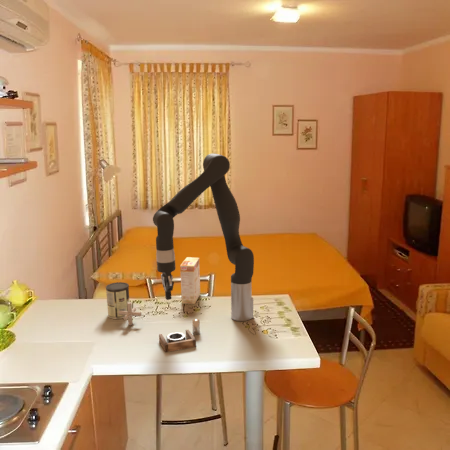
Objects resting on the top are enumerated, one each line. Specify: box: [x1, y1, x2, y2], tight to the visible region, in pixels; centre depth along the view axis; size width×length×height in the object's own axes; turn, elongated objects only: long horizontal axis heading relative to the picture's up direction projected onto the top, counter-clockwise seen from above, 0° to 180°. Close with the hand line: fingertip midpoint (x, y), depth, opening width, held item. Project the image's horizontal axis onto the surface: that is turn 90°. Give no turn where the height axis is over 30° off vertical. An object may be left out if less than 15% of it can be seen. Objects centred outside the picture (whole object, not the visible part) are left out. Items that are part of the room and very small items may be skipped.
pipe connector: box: [118, 301, 142, 326], centre depth 209 cm, size 10×10×10 cm
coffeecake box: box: [179, 256, 201, 305], centre depth 239 cm, size 15×7×20 cm, turn 172°
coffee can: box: [105, 281, 130, 320], centre depth 220 cm, size 10×10×14 cm
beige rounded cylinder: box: [191, 318, 201, 336], centre depth 200 cm, size 3×3×6 cm
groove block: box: [158, 329, 197, 353], centre depth 191 cm, size 12×10×3 cm
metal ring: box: [166, 332, 186, 343], centre depth 192 cm, size 7×7×3 cm
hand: (168, 299), depth 200 cm, fingers closed
